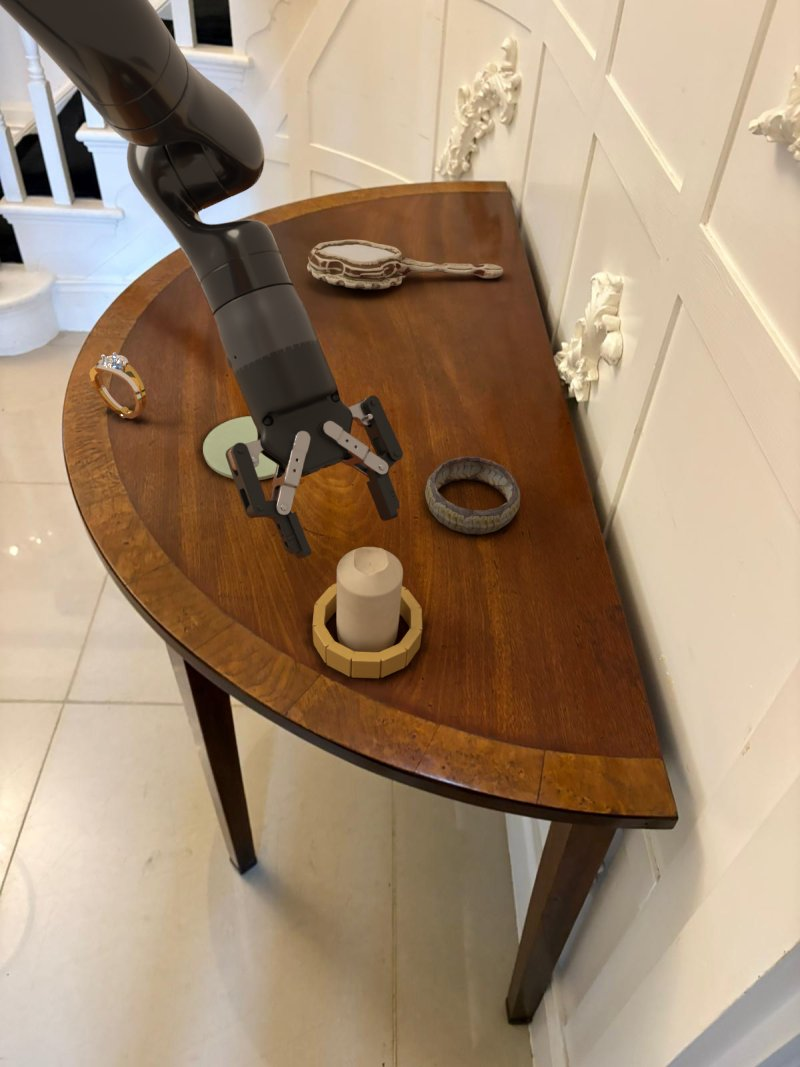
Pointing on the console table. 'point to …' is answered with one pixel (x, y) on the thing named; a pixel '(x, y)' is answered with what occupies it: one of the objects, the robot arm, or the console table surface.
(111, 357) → the ring
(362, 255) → the hand mirror
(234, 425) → the coaster
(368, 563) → the candle
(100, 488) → the console table surface
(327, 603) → the segmented bracelet
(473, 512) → the decorative ring
